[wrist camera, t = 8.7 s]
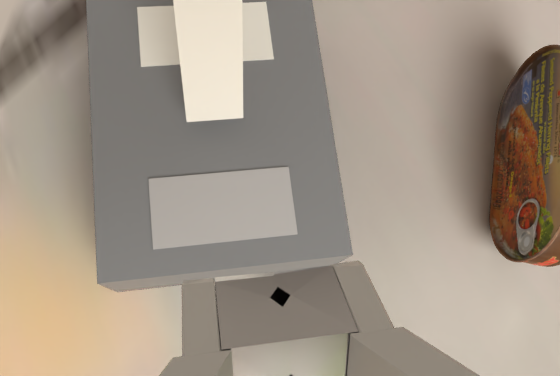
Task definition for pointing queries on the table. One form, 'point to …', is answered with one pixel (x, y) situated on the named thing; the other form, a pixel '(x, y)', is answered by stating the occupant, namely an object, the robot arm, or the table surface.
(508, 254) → the tin
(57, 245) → the table surface
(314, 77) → the switch box
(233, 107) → the breaker lever
